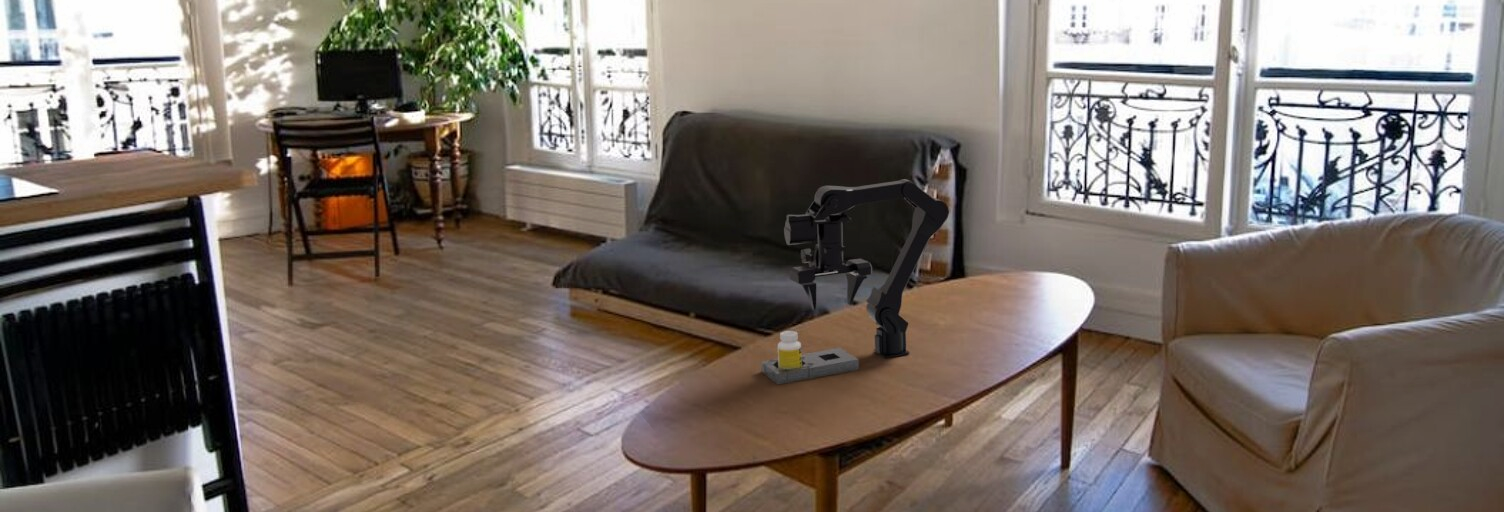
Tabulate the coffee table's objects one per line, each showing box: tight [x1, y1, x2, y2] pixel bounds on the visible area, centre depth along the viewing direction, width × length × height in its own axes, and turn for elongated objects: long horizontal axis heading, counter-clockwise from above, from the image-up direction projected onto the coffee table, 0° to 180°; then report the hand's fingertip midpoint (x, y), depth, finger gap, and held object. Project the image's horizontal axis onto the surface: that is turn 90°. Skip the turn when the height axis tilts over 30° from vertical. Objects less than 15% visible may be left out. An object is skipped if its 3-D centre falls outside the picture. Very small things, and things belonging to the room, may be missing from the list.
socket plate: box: [760, 347, 860, 385], centre depth 271 cm, size 20×10×2 cm, turn 110°
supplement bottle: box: [777, 330, 802, 369], centre depth 269 cm, size 5×5×10 cm
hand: (831, 306), depth 275 cm, fingers open, 9 cm apart
